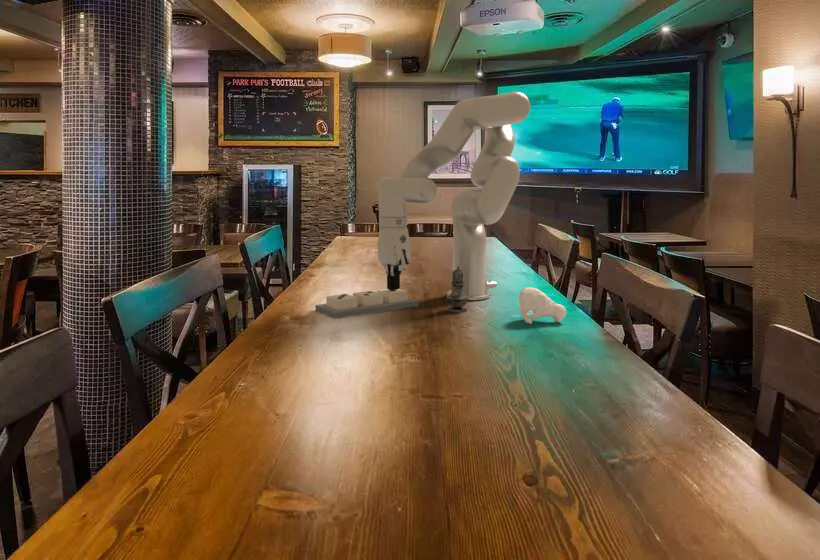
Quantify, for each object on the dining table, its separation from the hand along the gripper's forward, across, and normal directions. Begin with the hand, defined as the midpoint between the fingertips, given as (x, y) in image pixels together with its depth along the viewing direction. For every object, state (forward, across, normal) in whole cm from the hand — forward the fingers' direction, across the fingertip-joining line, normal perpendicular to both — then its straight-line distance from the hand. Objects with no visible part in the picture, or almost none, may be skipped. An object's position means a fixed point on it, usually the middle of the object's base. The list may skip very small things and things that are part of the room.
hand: (393, 289), depth 172 cm
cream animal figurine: (+5, -37, -20) cm, 42 cm away
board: (+4, 0, +8) cm, 9 cm away
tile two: (+4, 0, +8) cm, 9 cm away
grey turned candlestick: (+5, -15, -11) cm, 19 cm away
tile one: (+4, 0, 0) cm, 4 cm away
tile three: (+4, 0, +16) cm, 17 cm away
